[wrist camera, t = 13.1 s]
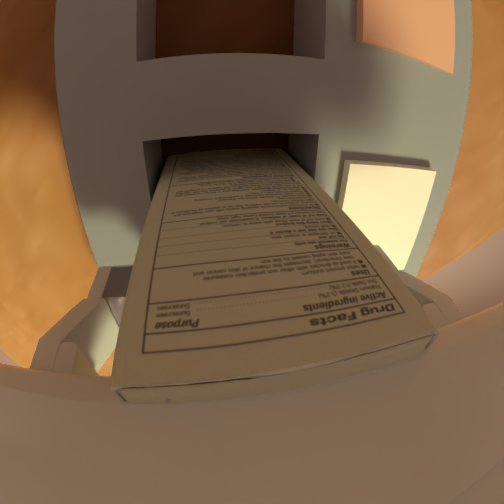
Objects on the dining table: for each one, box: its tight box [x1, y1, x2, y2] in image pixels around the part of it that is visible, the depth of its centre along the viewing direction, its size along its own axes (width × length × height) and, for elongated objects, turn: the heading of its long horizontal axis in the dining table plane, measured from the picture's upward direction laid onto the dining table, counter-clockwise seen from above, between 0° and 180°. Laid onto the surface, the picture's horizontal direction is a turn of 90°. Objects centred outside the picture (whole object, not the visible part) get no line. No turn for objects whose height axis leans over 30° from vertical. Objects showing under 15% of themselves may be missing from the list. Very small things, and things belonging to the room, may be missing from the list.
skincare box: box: [110, 148, 439, 404], centre depth 10 cm, size 6×4×12 cm
